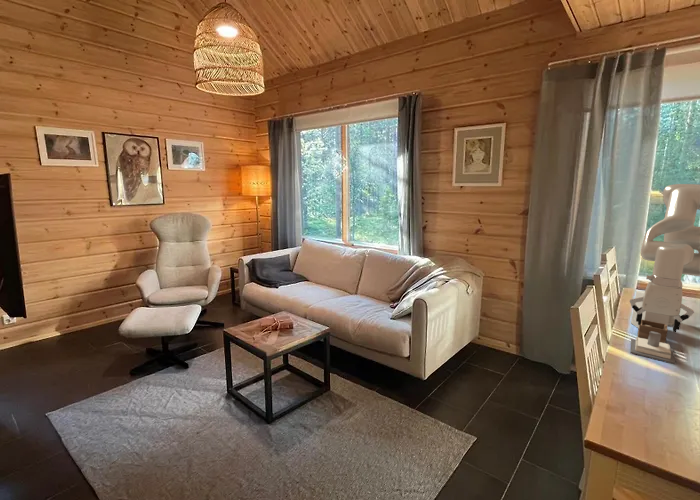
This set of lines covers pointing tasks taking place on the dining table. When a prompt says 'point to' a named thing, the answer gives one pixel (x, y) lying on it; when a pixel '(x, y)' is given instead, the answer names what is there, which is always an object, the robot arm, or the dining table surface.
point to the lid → (653, 345)
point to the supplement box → (648, 313)
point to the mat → (633, 345)
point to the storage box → (652, 329)
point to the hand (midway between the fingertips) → (656, 327)
